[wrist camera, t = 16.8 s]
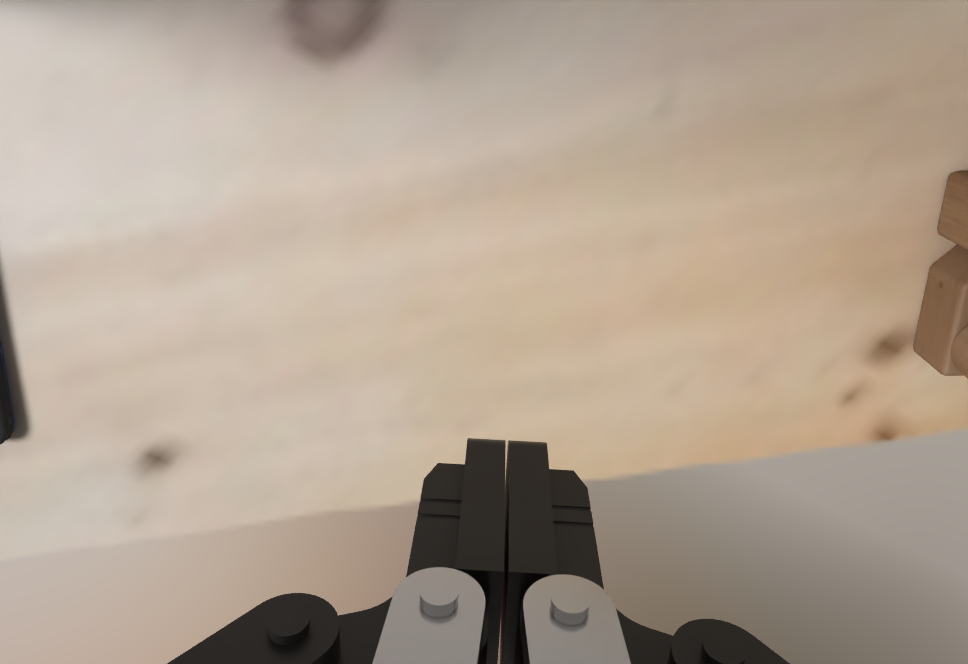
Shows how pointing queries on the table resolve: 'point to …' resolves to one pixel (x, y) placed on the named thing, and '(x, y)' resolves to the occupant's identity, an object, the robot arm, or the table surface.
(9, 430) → the handheld game console
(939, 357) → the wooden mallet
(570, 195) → the table surface
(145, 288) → the table surface
